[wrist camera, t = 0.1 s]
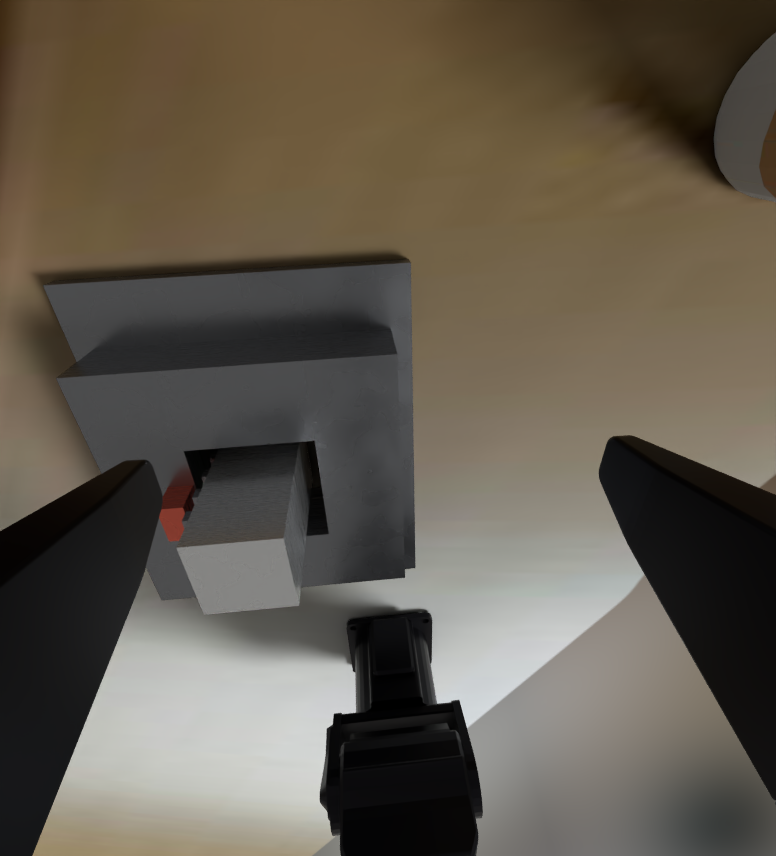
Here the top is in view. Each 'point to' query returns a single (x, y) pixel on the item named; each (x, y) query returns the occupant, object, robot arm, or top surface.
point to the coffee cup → (750, 126)
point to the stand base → (256, 396)
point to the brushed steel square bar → (249, 528)
